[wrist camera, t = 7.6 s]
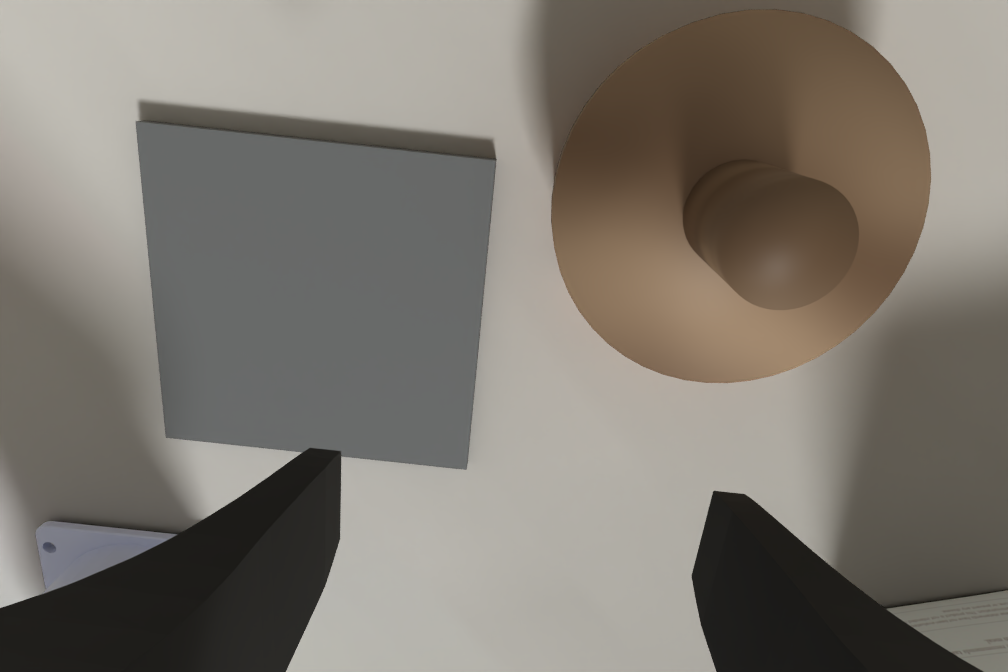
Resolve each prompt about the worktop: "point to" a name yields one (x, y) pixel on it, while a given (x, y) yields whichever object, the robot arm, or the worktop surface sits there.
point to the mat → (316, 291)
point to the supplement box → (965, 627)
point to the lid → (740, 195)
